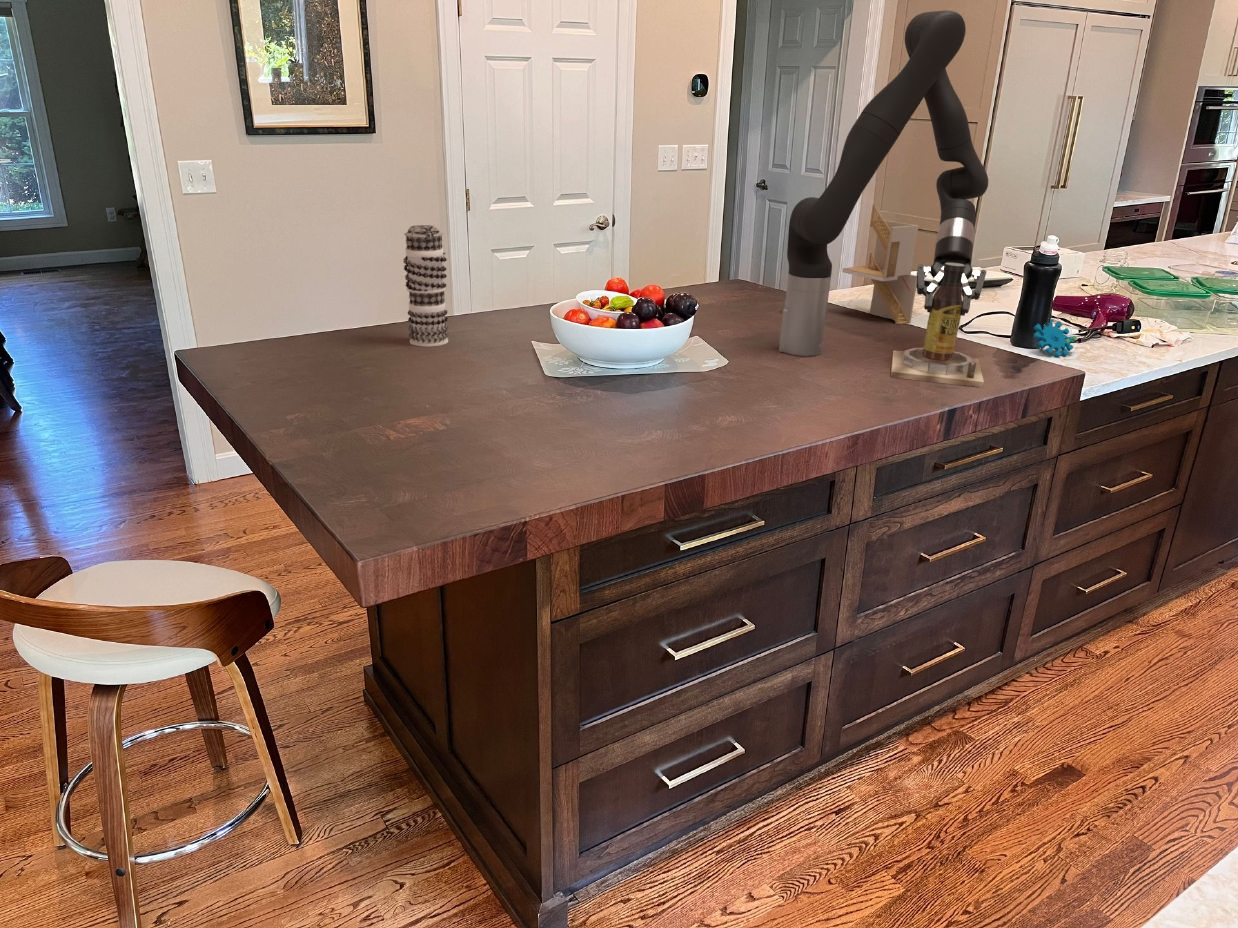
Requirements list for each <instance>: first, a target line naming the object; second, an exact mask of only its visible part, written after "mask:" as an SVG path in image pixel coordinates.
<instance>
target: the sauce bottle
mask: <svg viewBox="0 0 1238 928" xmlns="http://www.w3.org/2000/svg"><path fill="white" fill-rule="evenodd" d="M964 270H965V265H964V264H959V263H945V264H944V275H943V279H942V282H941V286H940V287H939V289H938V290H937V291H936V292H935V293H934V294H933V301H932V308H931V312H930V313H929V312H928V313H929V315H928V318H927V319H928V320H927V323H926V330H925V335H924V339H923V340H924V341H923V344H922V348H924V349H923V353H922V354H923V357H925V358H928V359H930V360H938V361H947V360H950V359H951V358H952V354H953V352H954V351H955V347H956V341H957V337H958V331H959V327H960V324H961V323H960V321H961V317H962V316H961V312H962V306H963V303H962V301H963V297H962V295H961V280H962V275H963V273H964Z"/></svg>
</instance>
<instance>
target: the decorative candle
mask: <svg viewBox="0 0 1238 928" xmlns="http://www.w3.org/2000/svg"><path fill="white" fill-rule="evenodd" d="M403 235H404V236H405V244H406V247H405V256H404V258H403V263H404V265H403V271H405V272H406V274H405V275H404V277H405V288H406V291H408V294H409V295H408V297H409V302H408V311H407V315H408V316H409V317H408V319H407V321H408V322H409V323H410V324H409V325H408V327H407V328H408V331H409V333H408V337H409V338H410V340H409V344H411V345H413V346H415V347H424V348H426V347H427V348H428V347H429V348H430V347H431V348H432V347H440V346H444V345H446V344H448V342H449V338H448V336H449V332H448V330H449V325H448V324H447V323H446V322H448V319H449V318H448V317H447V316H446V315H448V310H447V309H446V307H447V306H446V300H445V291H447V283H445V282H444V279H446V278H447V274H446V273H444V272H446V271H447V267H446V266H444V265H443V263H445V262H447V261H448V259H447V258H446V256H444V255H446V252H444V248H443V236H444V233H442V232H440V230H439V228H438V227H437V226H435V225H430V224H429V225H428V224H427V225H426V224H425V225H423V224H421V225H420V224H419V225H418V224H417V225H412V226H410V227H409V228H408V230H407V232H405V233H404V234H403Z"/></svg>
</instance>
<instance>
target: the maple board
mask: <svg viewBox="0 0 1238 928" xmlns="http://www.w3.org/2000/svg"><path fill="white" fill-rule="evenodd" d="M904 352H905V350H903V351H901V350H893V351H892V359H891V367H890V368H891V369H890V370H891V371H890V378H895V379H904V380H913V381H920V382H929V383H937V384H938V383H939V384H946V385H947V384H948V385H957V386H963V385H967V386H966V387H972V386H974V388H981V387H984V384H985V381H984V377H983V373H982V369H981V365H980V362H979V359H977V358H971V359H972V362H974V363H976V368H975V374H974V378H967V373H964V374H958V375H942V374H933V373H926V372H922V371H919V370H915V369H911V368H910V367H908V366H906V365H904V364H903V358H904ZM916 359H919V360H923V361H927V362H931V363H940V364H958V363H956V362H952V361H948V360H947V361H938V360H930V359H928V358H916Z"/></svg>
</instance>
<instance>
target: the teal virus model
mask: <svg viewBox="0 0 1238 928" xmlns="http://www.w3.org/2000/svg"><path fill="white" fill-rule="evenodd" d="M1049 318H1050V317H1049ZM1053 323H1054V319H1052V318H1050V323H1049V325H1046V323H1045V324H1044V325H1043V326H1044V327H1043V330H1042V327H1041V325H1040V324H1039V323H1037V324H1036V325H1035V326H1034V327H1033V329H1034V331H1036V332H1035V333H1033V338H1034V339H1036V340H1037V339H1039V341H1038V342H1037V347H1038V346H1039V347H1041V350H1040V351H1042V350H1043V349H1044V348H1045V347H1047V348H1045V349H1044V352H1045V353H1046V354H1047V355H1050V354H1051V353H1053V350H1055V352H1054V353H1053V356H1054V357H1055V358H1059V357H1061V356H1062V357H1066V356H1069V354H1070V351H1072V350H1073V349H1074V346H1073V345H1072V344H1073V343H1074V342H1075V341H1077V340H1078V337H1077V336H1076V335H1073V336H1068V334H1070V332H1071V331H1070V330H1069V328H1068V327H1065V328H1064V329H1060V328H1061V327H1062V326H1063V323H1062V322H1061V321H1060V320H1058V321H1056V322H1055V323H1054V324H1055V325H1054V326H1053V325H1052V324H1053ZM1042 346H1043V347H1042Z"/></svg>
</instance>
